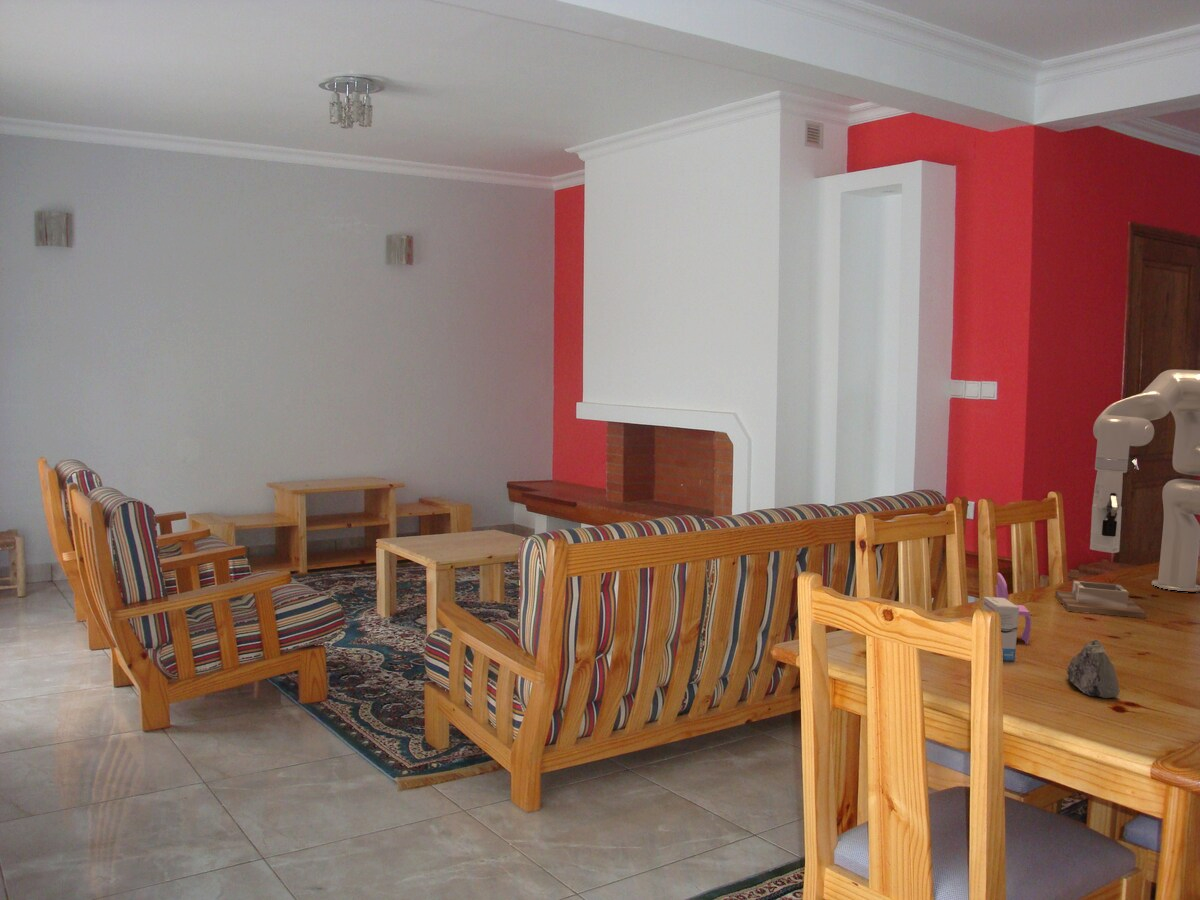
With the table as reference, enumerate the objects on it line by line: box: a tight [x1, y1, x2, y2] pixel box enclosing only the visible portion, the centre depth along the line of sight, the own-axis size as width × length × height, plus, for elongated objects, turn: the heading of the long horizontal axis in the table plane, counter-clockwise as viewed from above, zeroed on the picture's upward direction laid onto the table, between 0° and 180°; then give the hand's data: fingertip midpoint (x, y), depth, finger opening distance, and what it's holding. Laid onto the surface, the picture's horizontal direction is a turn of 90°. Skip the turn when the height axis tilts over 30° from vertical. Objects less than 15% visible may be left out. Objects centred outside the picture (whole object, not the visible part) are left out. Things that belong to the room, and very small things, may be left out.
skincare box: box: [1089, 503, 1123, 554], centre depth 268 cm, size 6×4×12 cm
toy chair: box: [995, 572, 1032, 645], centre depth 234 cm, size 8×9×15 cm
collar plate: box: [1054, 580, 1147, 619], centre depth 270 cm, size 18×18×6 cm
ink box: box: [982, 596, 1020, 662], centre depth 221 cm, size 8×5×12 cm, turn 179°
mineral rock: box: [1066, 638, 1121, 699], centre depth 200 cm, size 13×11×10 cm
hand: (1105, 533), depth 269 cm, fingers closed on skincare box, 6 cm apart
